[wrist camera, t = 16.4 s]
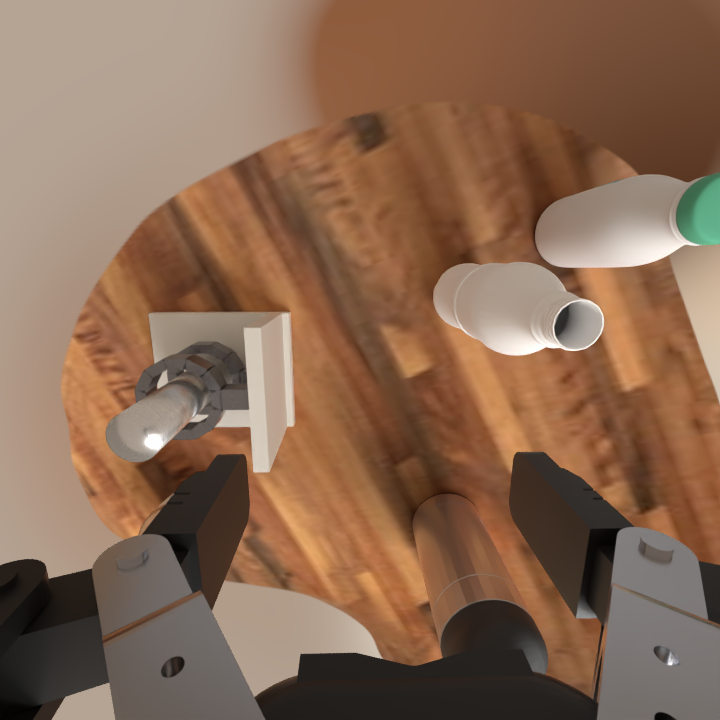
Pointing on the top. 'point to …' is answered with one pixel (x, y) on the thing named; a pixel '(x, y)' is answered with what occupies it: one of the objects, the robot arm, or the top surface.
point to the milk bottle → (630, 221)
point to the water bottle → (516, 308)
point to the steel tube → (160, 415)
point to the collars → (221, 392)
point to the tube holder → (259, 355)
